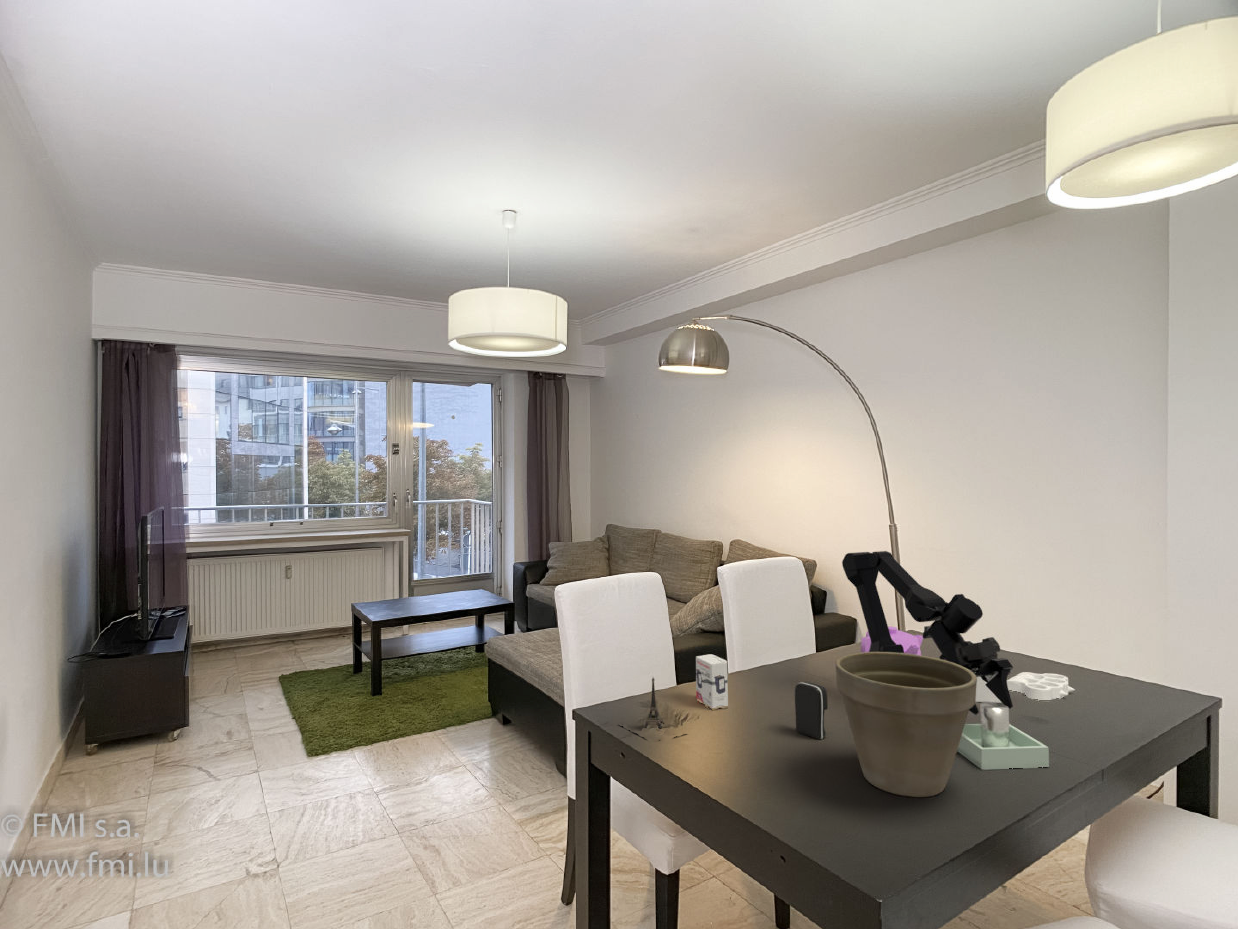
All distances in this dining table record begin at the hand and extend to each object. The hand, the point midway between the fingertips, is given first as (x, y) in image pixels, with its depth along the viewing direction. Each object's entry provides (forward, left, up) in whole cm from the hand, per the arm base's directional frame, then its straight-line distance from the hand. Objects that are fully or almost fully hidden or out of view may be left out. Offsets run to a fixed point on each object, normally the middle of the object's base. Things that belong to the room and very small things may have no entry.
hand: (994, 710), depth 145 cm
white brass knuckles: (+36, +40, -10) cm, 55 cm away
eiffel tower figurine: (-70, +20, -10) cm, 73 cm away
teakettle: (+7, +64, -9) cm, 65 cm away
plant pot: (-24, -11, -9) cm, 28 cm away
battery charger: (-34, +14, -9) cm, 38 cm away
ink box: (-53, +36, -9) cm, 65 cm away
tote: (0, 0, -9) cm, 9 cm away
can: (0, 0, -8) cm, 8 cm away
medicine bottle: (+18, +35, -9) cm, 40 cm away
